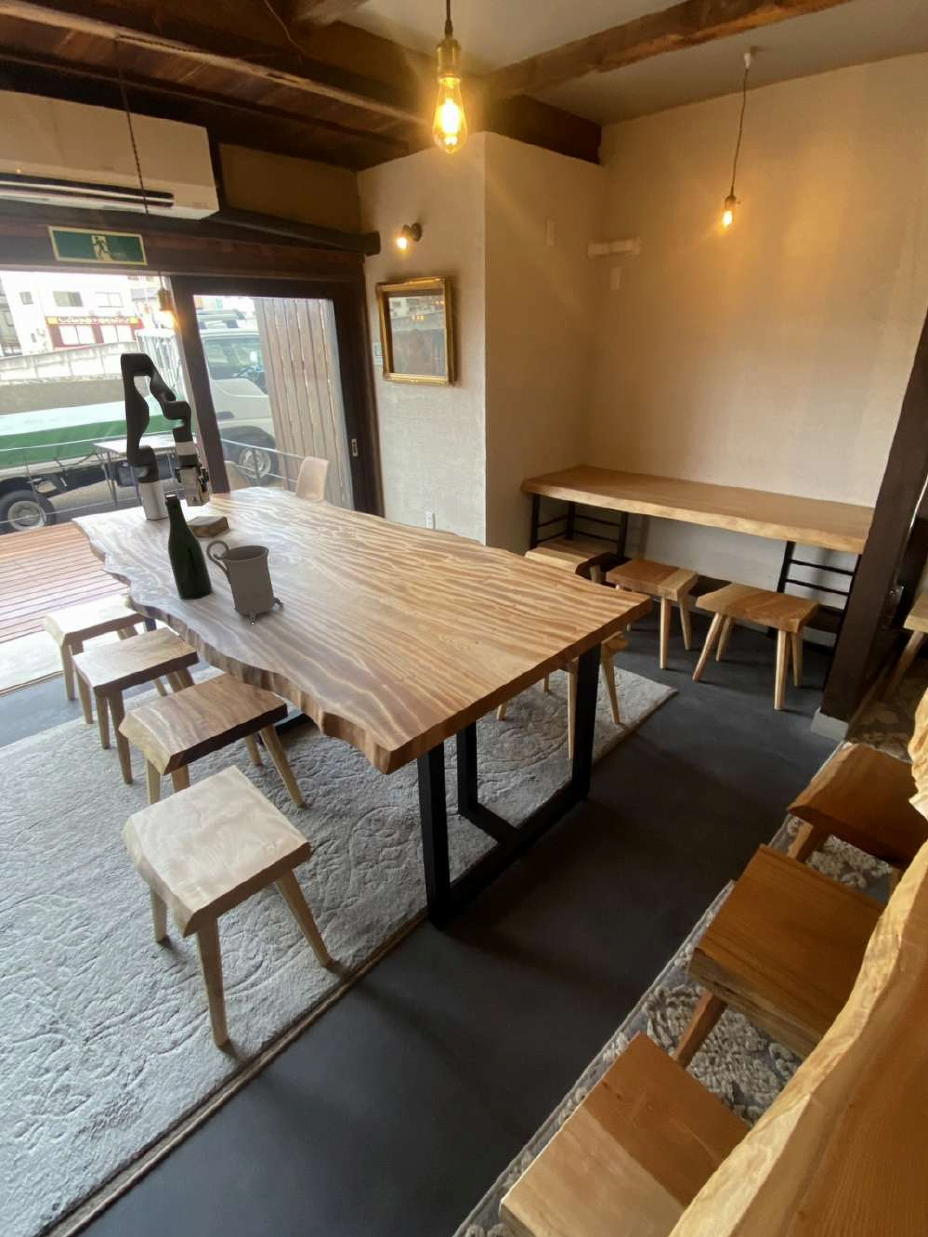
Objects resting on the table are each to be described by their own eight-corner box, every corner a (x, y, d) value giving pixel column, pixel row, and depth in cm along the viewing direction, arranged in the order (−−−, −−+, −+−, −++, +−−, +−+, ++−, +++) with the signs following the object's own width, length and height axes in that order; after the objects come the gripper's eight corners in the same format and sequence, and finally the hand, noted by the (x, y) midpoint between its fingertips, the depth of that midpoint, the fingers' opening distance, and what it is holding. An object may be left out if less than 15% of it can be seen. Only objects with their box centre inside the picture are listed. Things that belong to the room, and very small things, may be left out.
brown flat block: (182, 537, 252) (179, 525, 250) (199, 527, 264) (196, 515, 262) (213, 537, 250) (210, 525, 248) (229, 527, 262) (226, 515, 260)
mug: (273, 597, 190) (258, 522, 179) (293, 612, 180) (278, 533, 169) (215, 615, 180) (195, 536, 169) (232, 631, 170) (212, 549, 159)
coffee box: (196, 501, 256) (187, 463, 249) (211, 500, 256) (202, 463, 249) (187, 507, 248) (177, 468, 241) (202, 506, 247) (192, 467, 240)
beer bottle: (202, 585, 203) (178, 489, 188) (219, 591, 197) (195, 493, 182) (173, 595, 196) (145, 496, 181) (189, 602, 189) (162, 501, 175)
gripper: (208, 450, 245) (217, 490, 252) (175, 450, 246) (185, 490, 254) (198, 454, 238) (207, 494, 245) (165, 454, 240) (175, 495, 247)
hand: (196, 492), depth 250 cm, fingers closed on coffee box, 6 cm apart
